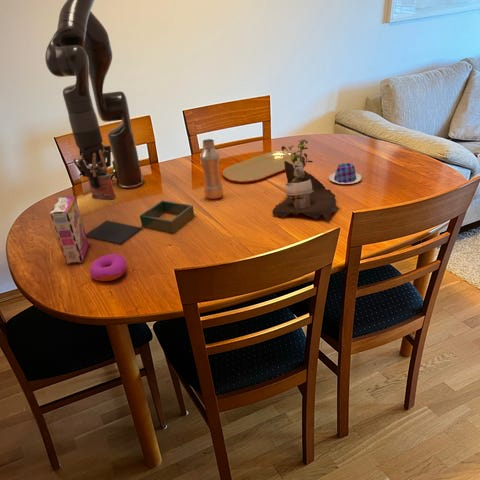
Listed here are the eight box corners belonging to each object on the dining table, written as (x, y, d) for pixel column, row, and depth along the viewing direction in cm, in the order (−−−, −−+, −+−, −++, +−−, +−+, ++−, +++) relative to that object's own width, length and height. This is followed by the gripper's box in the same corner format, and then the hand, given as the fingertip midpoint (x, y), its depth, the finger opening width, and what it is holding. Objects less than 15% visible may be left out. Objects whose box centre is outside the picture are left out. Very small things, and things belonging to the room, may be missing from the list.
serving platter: (310, 162, 186) (310, 158, 185) (242, 188, 170) (242, 184, 169) (279, 152, 198) (279, 148, 197) (213, 175, 182) (213, 171, 181)
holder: (142, 226, 152) (139, 215, 149) (164, 210, 160) (162, 200, 158) (173, 233, 147) (171, 221, 144) (194, 216, 155) (192, 205, 152)
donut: (102, 263, 135) (98, 250, 132) (134, 265, 133) (131, 251, 130) (86, 283, 127) (82, 269, 124) (121, 285, 125) (117, 271, 122)
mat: (84, 236, 149) (84, 235, 149) (106, 221, 156) (106, 220, 156) (120, 244, 143) (120, 243, 143) (141, 228, 150) (141, 227, 150)
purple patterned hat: (351, 171, 176) (352, 157, 173) (367, 182, 167) (369, 167, 164) (323, 176, 174) (323, 163, 171) (338, 188, 165) (339, 174, 162)
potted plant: (272, 225, 151) (262, 145, 142) (287, 214, 167) (279, 141, 158) (333, 220, 143) (326, 135, 134) (342, 209, 160) (337, 132, 150)
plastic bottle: (221, 201, 163) (215, 144, 150) (203, 200, 164) (195, 144, 152) (225, 193, 168) (220, 137, 155) (207, 193, 169) (201, 137, 157)
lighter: (118, 196, 142) (110, 164, 136) (112, 200, 140) (104, 168, 134) (96, 194, 145) (87, 163, 138) (90, 199, 142) (81, 167, 136)
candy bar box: (83, 263, 136) (67, 211, 126) (66, 264, 136) (48, 213, 125) (90, 244, 145) (75, 195, 134) (74, 246, 144) (58, 196, 134)
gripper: (92, 118, 135) (106, 175, 146) (57, 133, 126) (75, 193, 137) (111, 120, 132) (125, 178, 143) (77, 135, 123) (94, 196, 134)
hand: (101, 185), depth 140 cm, fingers closed on lighter, 3 cm apart
